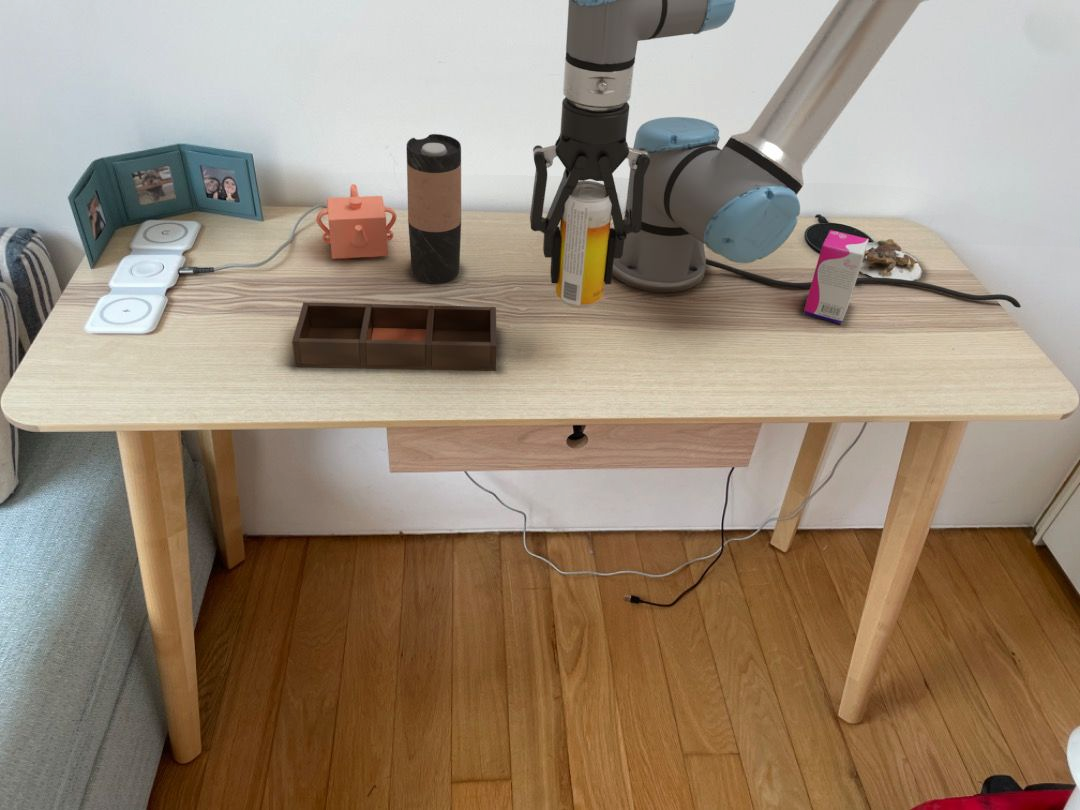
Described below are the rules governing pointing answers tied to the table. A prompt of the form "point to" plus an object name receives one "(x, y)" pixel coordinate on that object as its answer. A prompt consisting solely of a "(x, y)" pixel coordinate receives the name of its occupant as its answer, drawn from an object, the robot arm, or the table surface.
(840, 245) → the supplement box
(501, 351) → the table surface
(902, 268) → the plate of food
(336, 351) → the rack
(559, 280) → the beer can
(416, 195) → the travel mug
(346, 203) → the teapot
